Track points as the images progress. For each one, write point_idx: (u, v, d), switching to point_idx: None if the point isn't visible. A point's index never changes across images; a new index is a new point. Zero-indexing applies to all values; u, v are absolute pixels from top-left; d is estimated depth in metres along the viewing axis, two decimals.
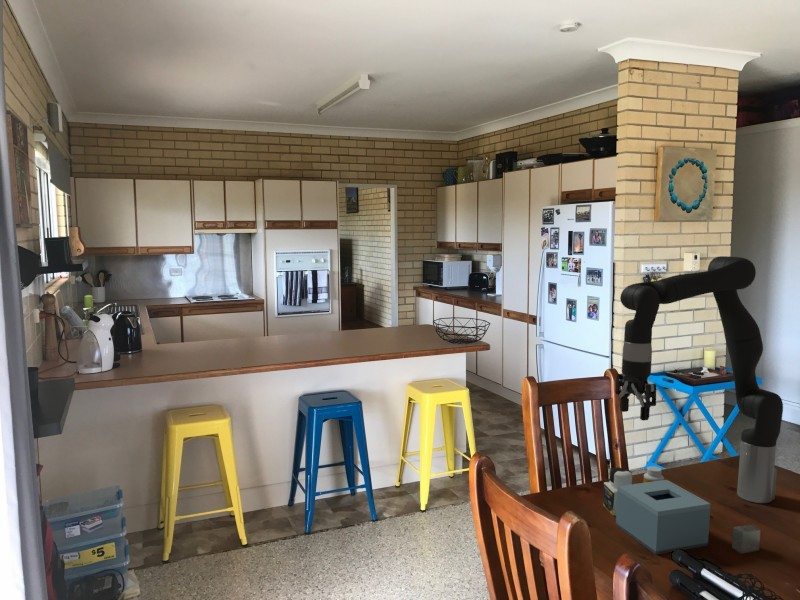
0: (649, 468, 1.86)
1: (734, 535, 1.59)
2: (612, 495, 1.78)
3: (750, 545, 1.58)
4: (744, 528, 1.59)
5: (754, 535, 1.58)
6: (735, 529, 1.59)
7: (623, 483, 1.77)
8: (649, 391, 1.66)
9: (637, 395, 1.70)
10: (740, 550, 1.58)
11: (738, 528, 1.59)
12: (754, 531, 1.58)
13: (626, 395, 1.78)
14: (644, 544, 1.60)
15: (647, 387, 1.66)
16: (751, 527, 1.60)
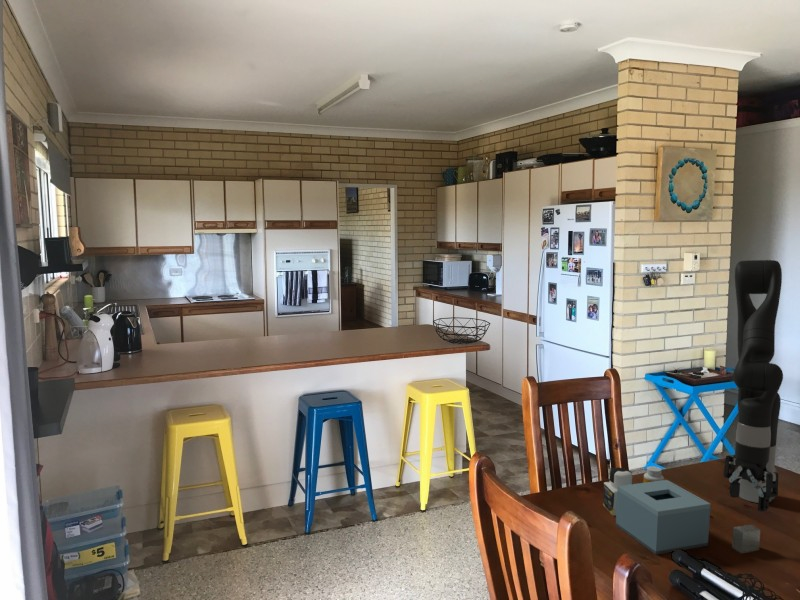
0: (649, 468, 1.86)
1: (734, 535, 1.59)
2: (612, 495, 1.78)
3: (750, 545, 1.58)
4: (744, 528, 1.59)
5: (754, 535, 1.58)
6: (735, 529, 1.59)
7: (623, 483, 1.77)
8: (771, 481, 1.51)
9: (755, 483, 1.54)
10: (740, 550, 1.58)
11: (738, 528, 1.59)
12: (754, 531, 1.58)
13: (737, 479, 1.62)
14: (644, 544, 1.60)
15: (768, 476, 1.51)
16: (751, 527, 1.60)
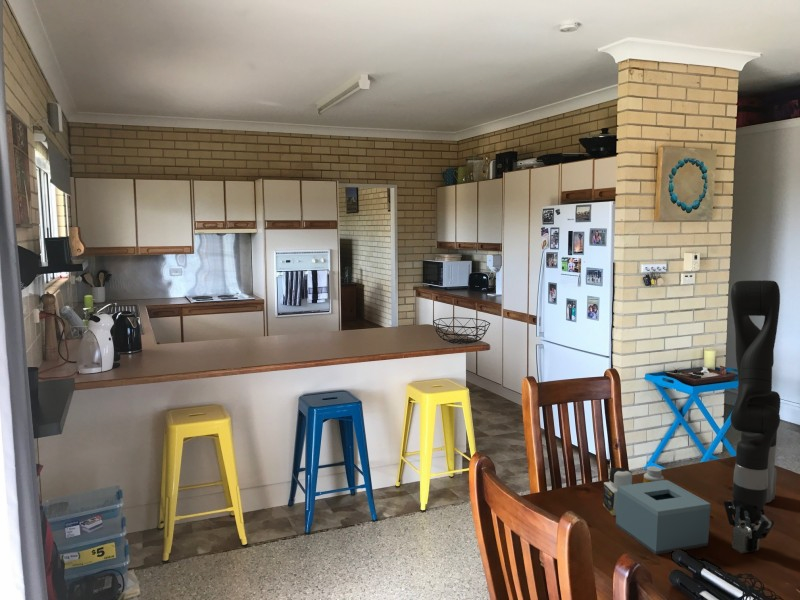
0: (649, 468, 1.86)
1: (734, 535, 1.59)
2: (612, 495, 1.78)
3: None
4: (744, 528, 1.59)
5: None
6: (735, 529, 1.59)
7: (623, 483, 1.77)
8: (764, 528, 1.53)
9: (748, 525, 1.57)
10: (740, 550, 1.58)
11: (738, 528, 1.59)
12: None
13: None
14: (644, 544, 1.60)
15: (764, 524, 1.52)
16: None
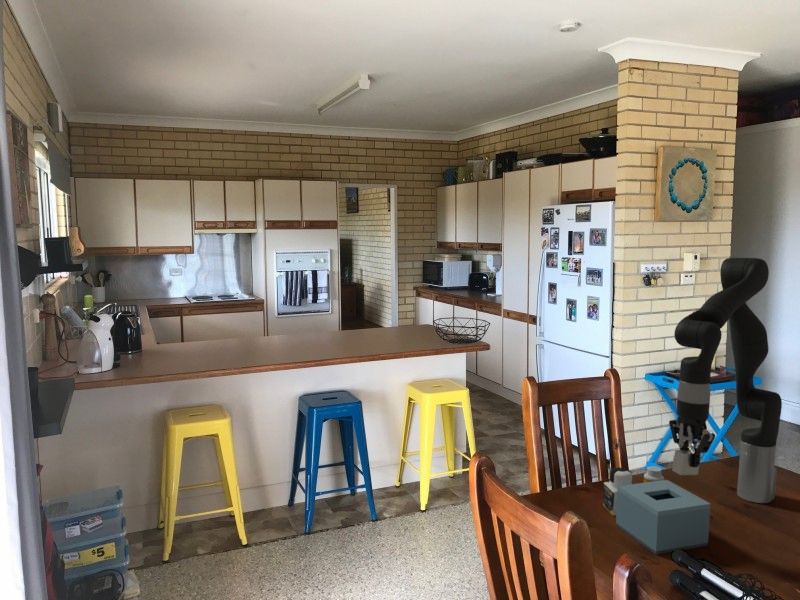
0: (649, 468, 1.86)
1: (675, 458, 1.61)
2: (612, 495, 1.78)
3: (689, 468, 1.60)
4: (686, 451, 1.61)
5: None
6: (676, 452, 1.61)
7: (623, 483, 1.77)
8: (706, 441, 1.55)
9: (690, 440, 1.58)
10: (680, 472, 1.59)
11: (679, 451, 1.61)
12: None
13: (686, 444, 1.63)
14: (644, 544, 1.60)
15: (705, 437, 1.54)
16: None
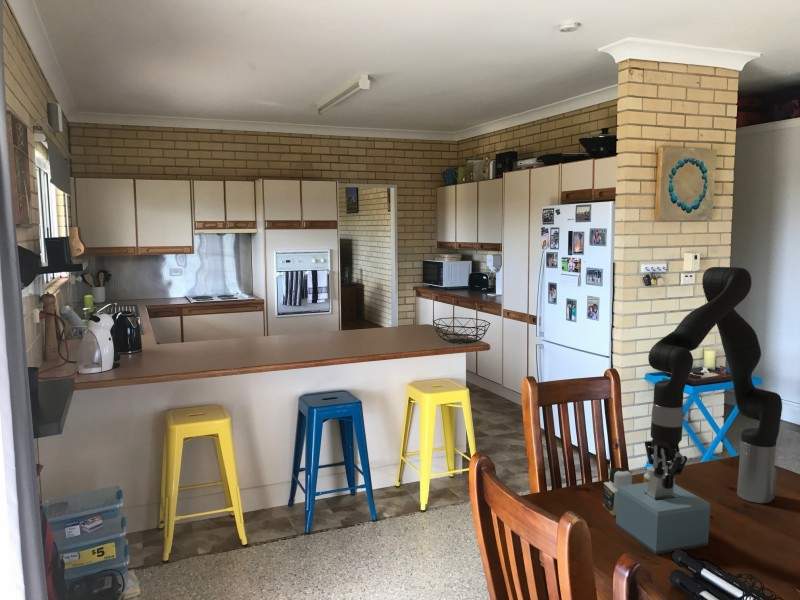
0: (649, 468, 1.86)
1: (650, 482, 1.65)
2: (612, 495, 1.78)
3: (663, 492, 1.63)
4: (660, 476, 1.64)
5: None
6: (651, 476, 1.64)
7: (623, 483, 1.77)
8: (678, 464, 1.58)
9: (664, 462, 1.62)
10: (653, 496, 1.63)
11: (654, 475, 1.64)
12: None
13: (661, 466, 1.66)
14: (644, 544, 1.60)
15: (677, 460, 1.58)
16: None
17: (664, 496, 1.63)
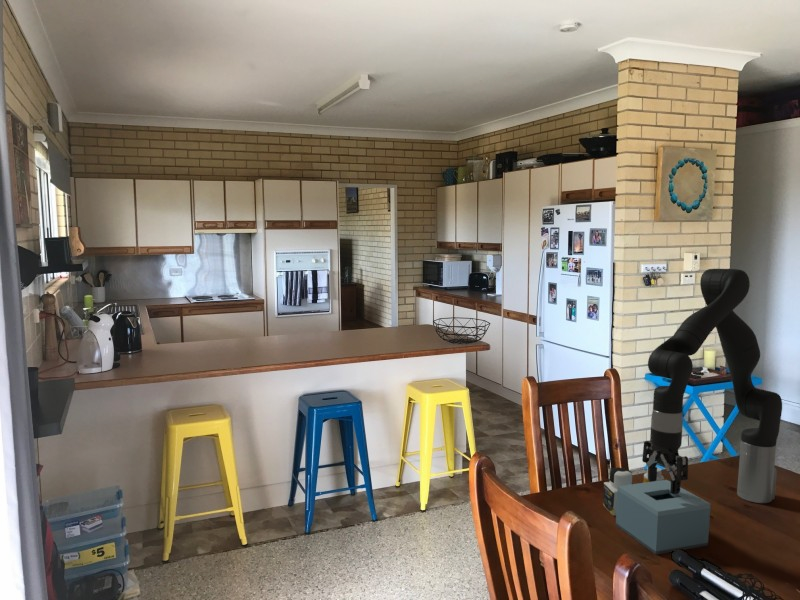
0: None
1: None
2: (612, 495, 1.78)
3: None
4: None
5: None
6: None
7: (623, 483, 1.77)
8: (680, 465, 1.57)
9: (667, 467, 1.61)
10: None
11: None
12: None
13: (654, 464, 1.68)
14: (644, 544, 1.60)
15: (678, 460, 1.57)
16: None
17: None
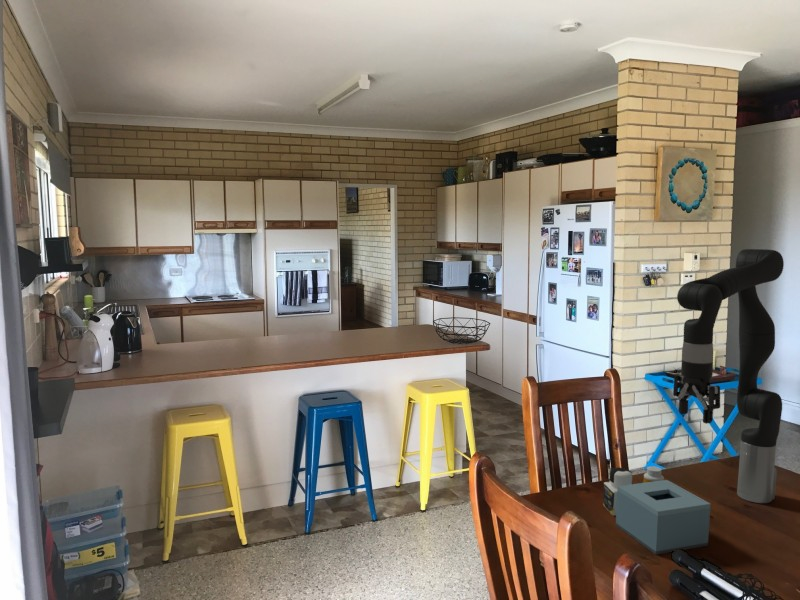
0: (649, 468, 1.86)
1: None
2: (612, 495, 1.78)
3: None
4: None
5: None
6: None
7: (623, 483, 1.77)
8: (713, 393, 1.60)
9: (699, 397, 1.64)
10: None
11: None
12: None
13: (685, 397, 1.72)
14: (644, 544, 1.60)
15: (711, 389, 1.60)
16: None
17: None
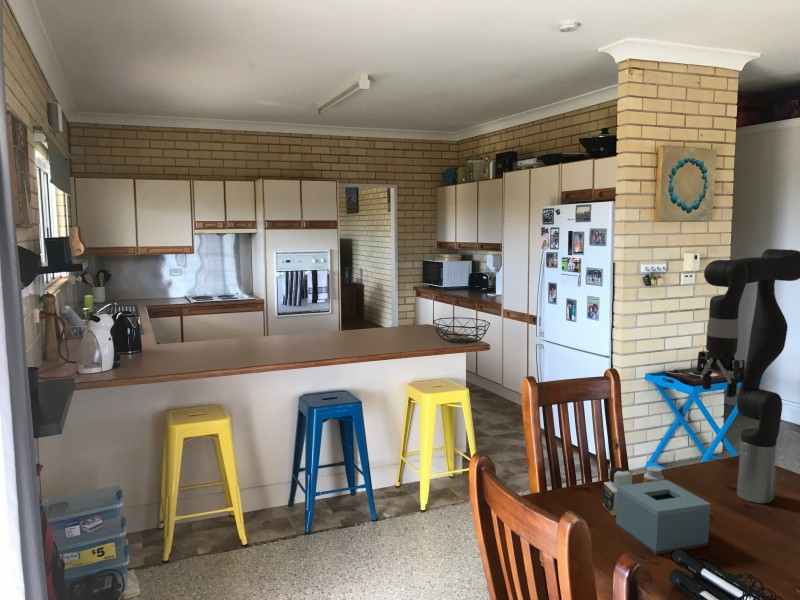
0: (649, 468, 1.86)
1: None
2: (612, 495, 1.78)
3: None
4: None
5: None
6: None
7: (623, 483, 1.77)
8: (738, 367, 1.64)
9: (724, 372, 1.68)
10: None
11: None
12: None
13: (709, 373, 1.75)
14: (644, 544, 1.60)
15: (735, 363, 1.64)
16: None
17: None
